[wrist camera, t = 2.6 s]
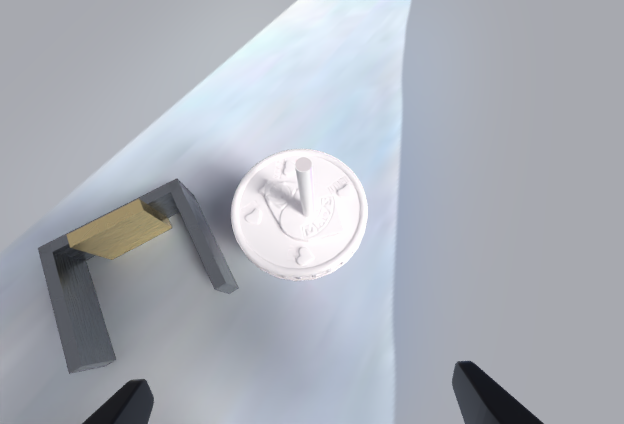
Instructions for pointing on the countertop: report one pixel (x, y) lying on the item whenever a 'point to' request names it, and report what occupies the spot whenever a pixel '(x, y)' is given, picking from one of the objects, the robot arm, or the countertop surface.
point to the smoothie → (299, 214)
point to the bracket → (110, 244)
